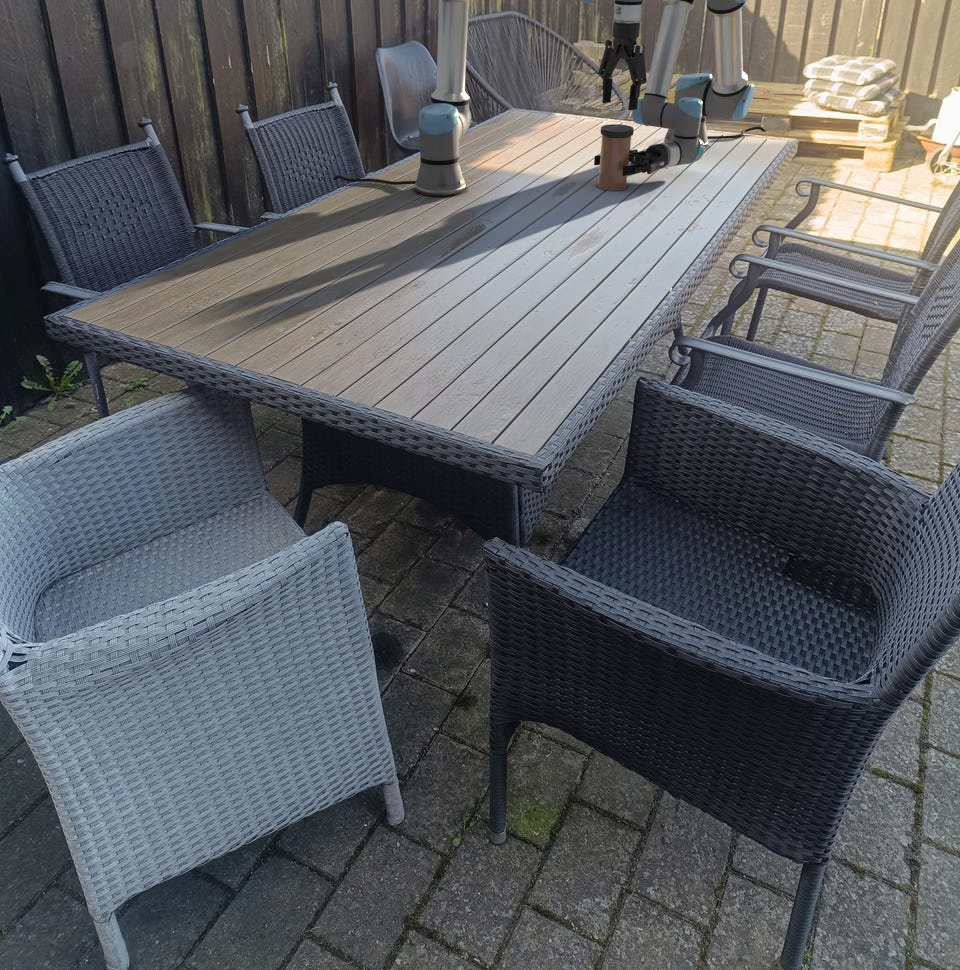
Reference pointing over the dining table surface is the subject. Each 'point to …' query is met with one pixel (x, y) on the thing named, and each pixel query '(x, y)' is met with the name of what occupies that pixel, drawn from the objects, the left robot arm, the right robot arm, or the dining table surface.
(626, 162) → the jar
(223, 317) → the dining table surface
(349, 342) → the dining table surface
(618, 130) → the lid
